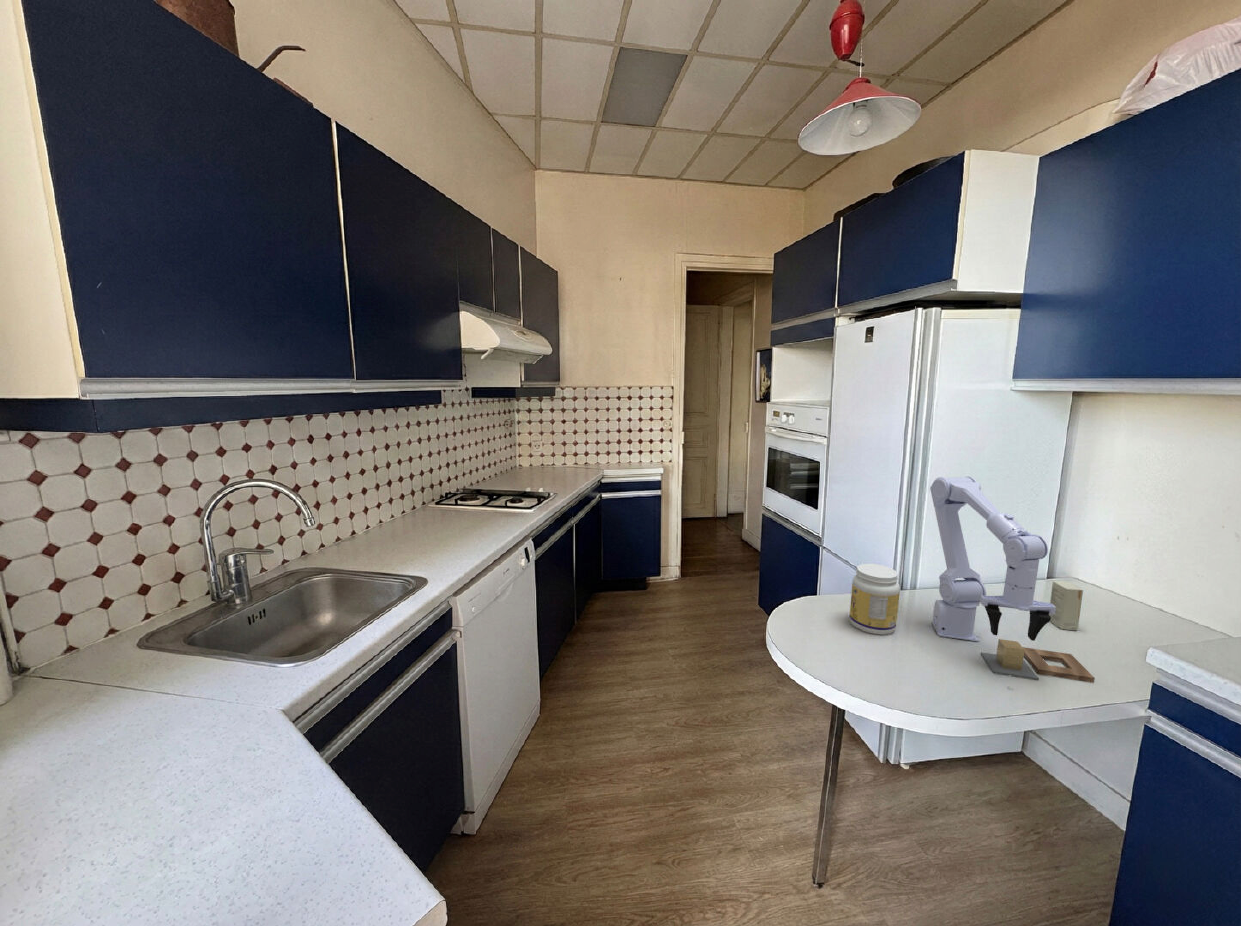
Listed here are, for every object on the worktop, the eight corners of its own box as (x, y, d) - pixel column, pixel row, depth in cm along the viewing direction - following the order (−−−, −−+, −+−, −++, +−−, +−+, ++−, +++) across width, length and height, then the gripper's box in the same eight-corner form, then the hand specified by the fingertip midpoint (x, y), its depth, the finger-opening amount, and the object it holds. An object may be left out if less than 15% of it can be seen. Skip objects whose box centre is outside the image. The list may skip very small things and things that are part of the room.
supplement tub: (846, 613, 152) (850, 560, 149) (890, 618, 148) (895, 564, 145) (852, 632, 140) (857, 576, 137) (900, 638, 137) (906, 581, 134)
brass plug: (1002, 667, 122) (1005, 646, 121) (995, 658, 126) (998, 638, 125) (1021, 670, 121) (1024, 649, 120) (1014, 661, 125) (1017, 641, 124)
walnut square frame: (1038, 673, 120) (1038, 669, 120) (1019, 650, 130) (1020, 646, 130) (1094, 682, 117) (1094, 677, 117) (1070, 658, 127) (1071, 654, 127)
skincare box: (1078, 631, 140) (1085, 590, 138) (1060, 629, 141) (1067, 589, 139) (1063, 620, 147) (1069, 581, 145) (1046, 619, 147) (1052, 580, 145)
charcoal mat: (993, 672, 121) (993, 671, 121) (980, 653, 129) (980, 651, 129) (1038, 680, 118) (1038, 678, 118) (1022, 660, 126) (1022, 658, 126)
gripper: (990, 586, 118) (983, 638, 121) (1065, 595, 114) (1056, 649, 116) (980, 575, 125) (973, 625, 127) (1050, 583, 120) (1042, 634, 123)
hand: (1012, 635), depth 122 cm, fingers open, 7 cm apart
